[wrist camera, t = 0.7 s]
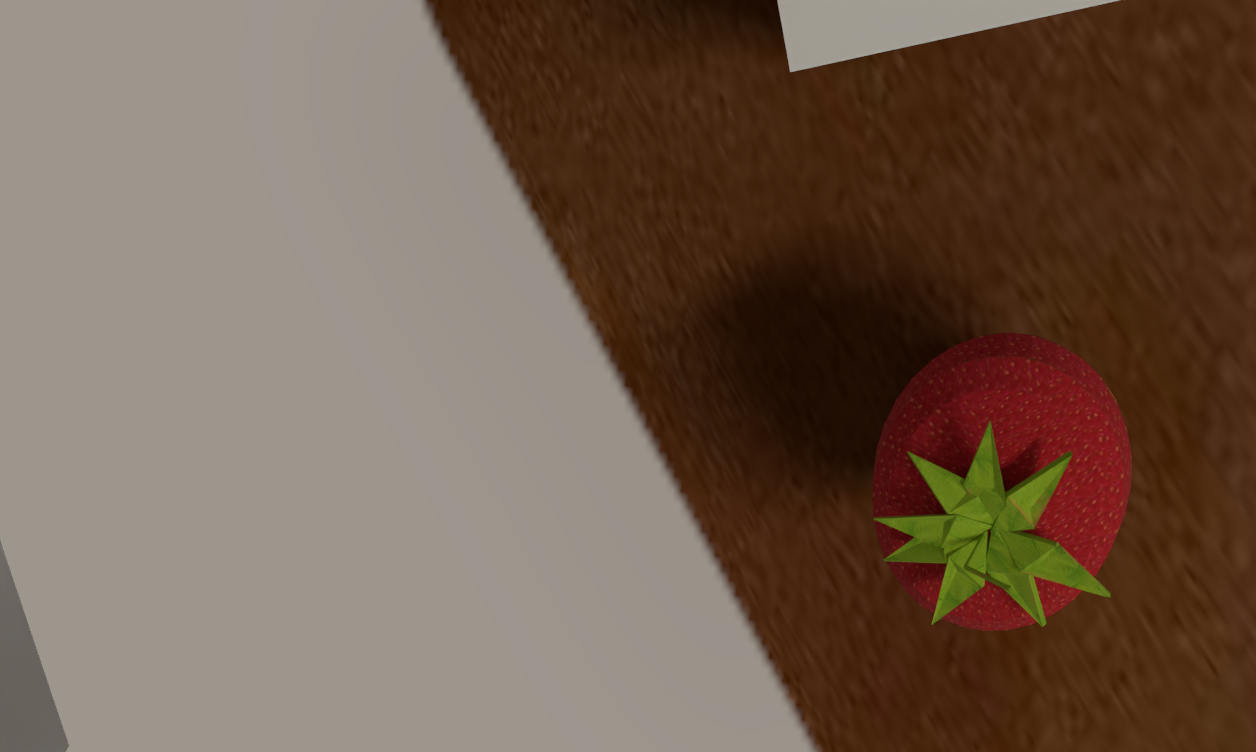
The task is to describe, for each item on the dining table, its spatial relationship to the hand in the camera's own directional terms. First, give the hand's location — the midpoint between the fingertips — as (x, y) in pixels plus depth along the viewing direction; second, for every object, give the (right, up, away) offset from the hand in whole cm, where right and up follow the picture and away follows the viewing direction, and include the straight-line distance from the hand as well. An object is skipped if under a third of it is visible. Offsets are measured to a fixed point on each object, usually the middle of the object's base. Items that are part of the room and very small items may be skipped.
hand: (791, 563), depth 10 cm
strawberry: (+10, +1, +24) cm, 25 cm away
